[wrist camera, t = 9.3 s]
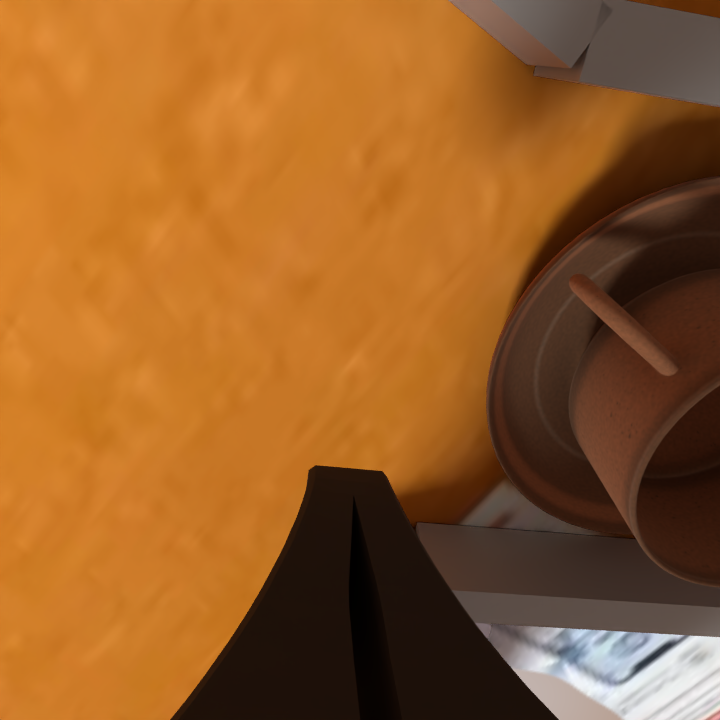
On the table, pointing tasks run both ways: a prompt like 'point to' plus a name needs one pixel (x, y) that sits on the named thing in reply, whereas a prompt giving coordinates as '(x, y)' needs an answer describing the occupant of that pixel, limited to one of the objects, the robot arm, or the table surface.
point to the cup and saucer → (622, 380)
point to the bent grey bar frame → (570, 551)
